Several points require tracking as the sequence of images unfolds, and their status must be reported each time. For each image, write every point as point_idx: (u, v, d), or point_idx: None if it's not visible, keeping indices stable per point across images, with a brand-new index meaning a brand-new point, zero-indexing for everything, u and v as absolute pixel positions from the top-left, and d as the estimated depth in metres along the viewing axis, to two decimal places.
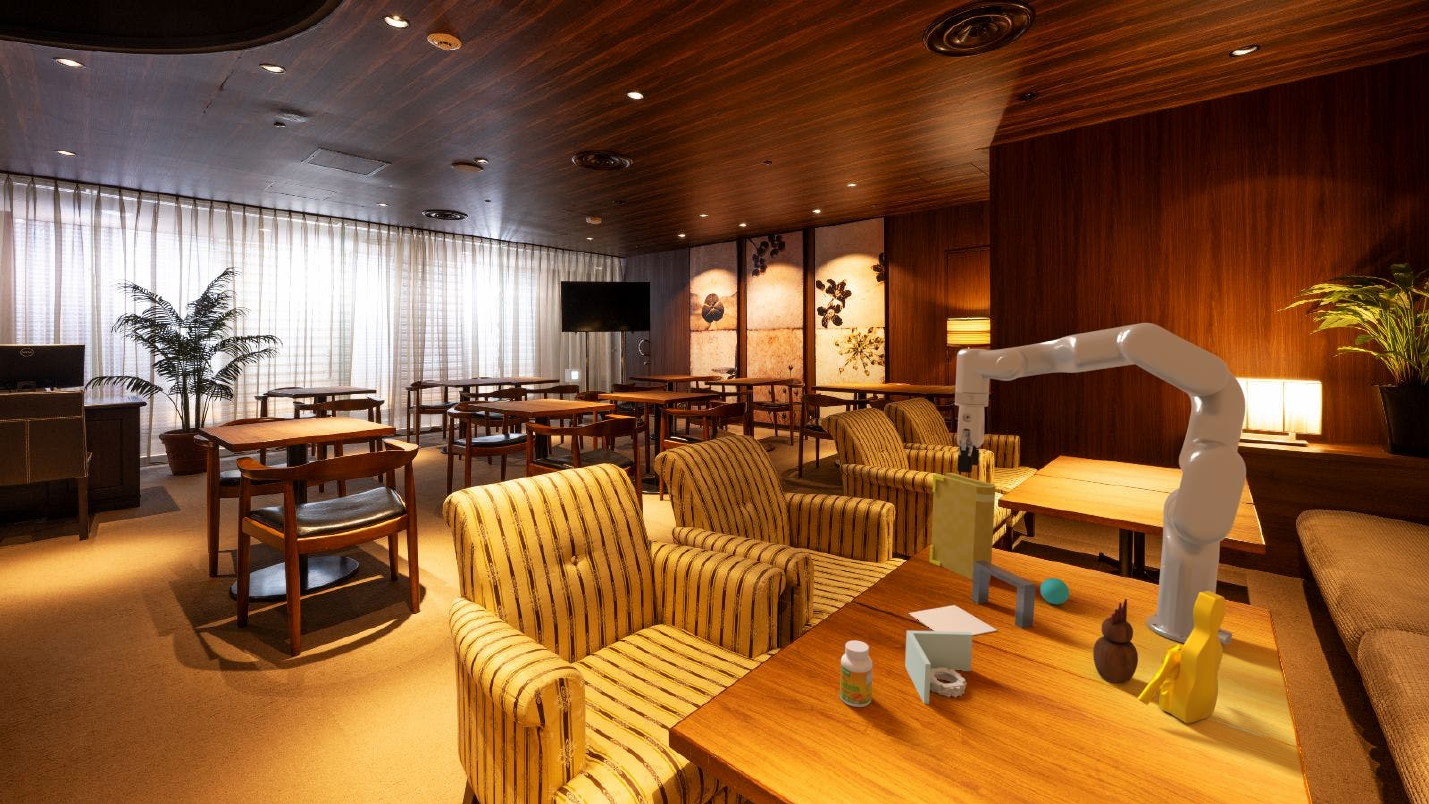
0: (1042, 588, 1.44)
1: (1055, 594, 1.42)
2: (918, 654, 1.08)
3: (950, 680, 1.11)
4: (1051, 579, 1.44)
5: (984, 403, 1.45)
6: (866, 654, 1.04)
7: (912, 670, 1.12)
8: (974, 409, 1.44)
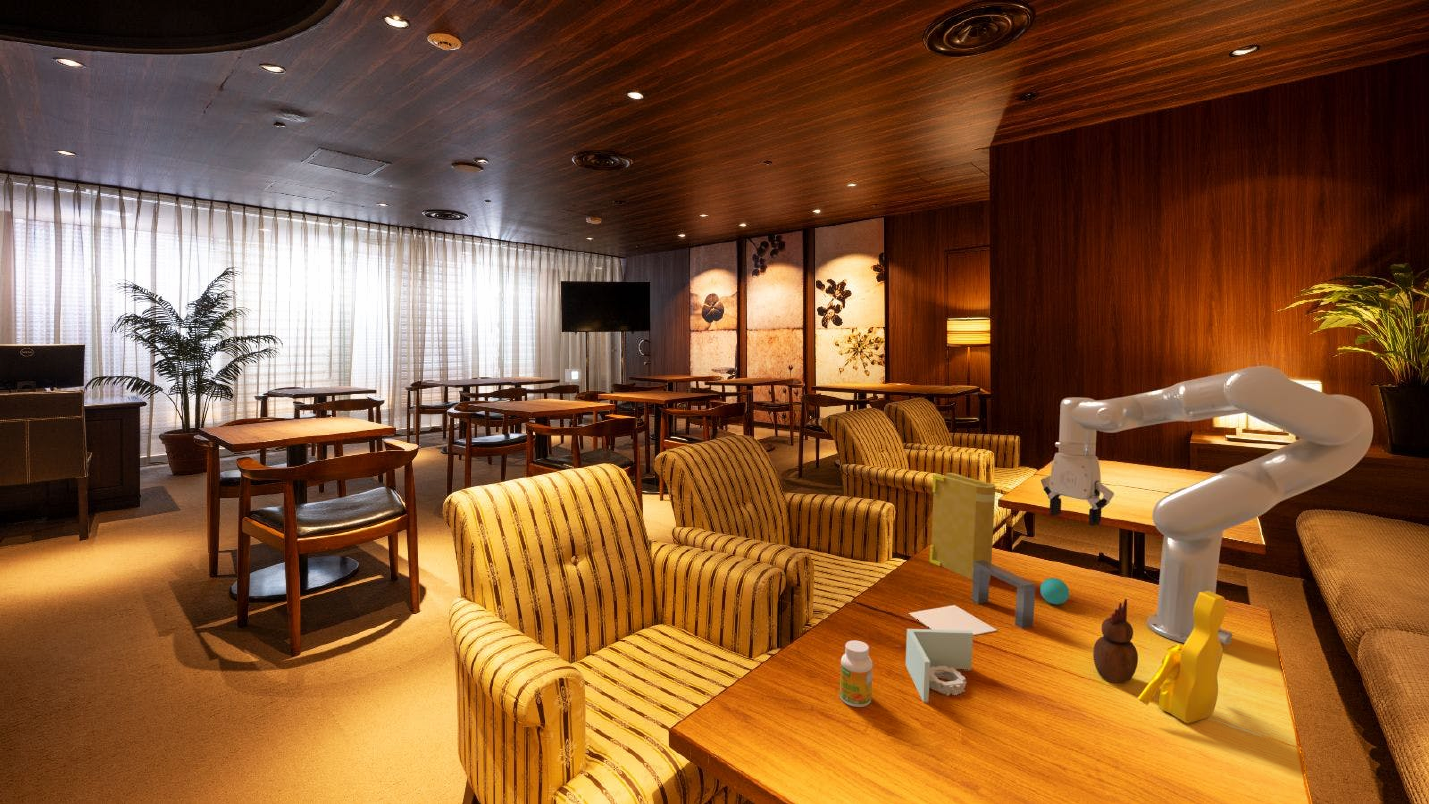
0: (1042, 588, 1.44)
1: (1055, 594, 1.42)
2: (918, 652, 1.08)
3: (950, 678, 1.12)
4: (1051, 579, 1.44)
5: (1060, 452, 1.45)
6: (866, 654, 1.04)
7: (912, 668, 1.12)
8: None
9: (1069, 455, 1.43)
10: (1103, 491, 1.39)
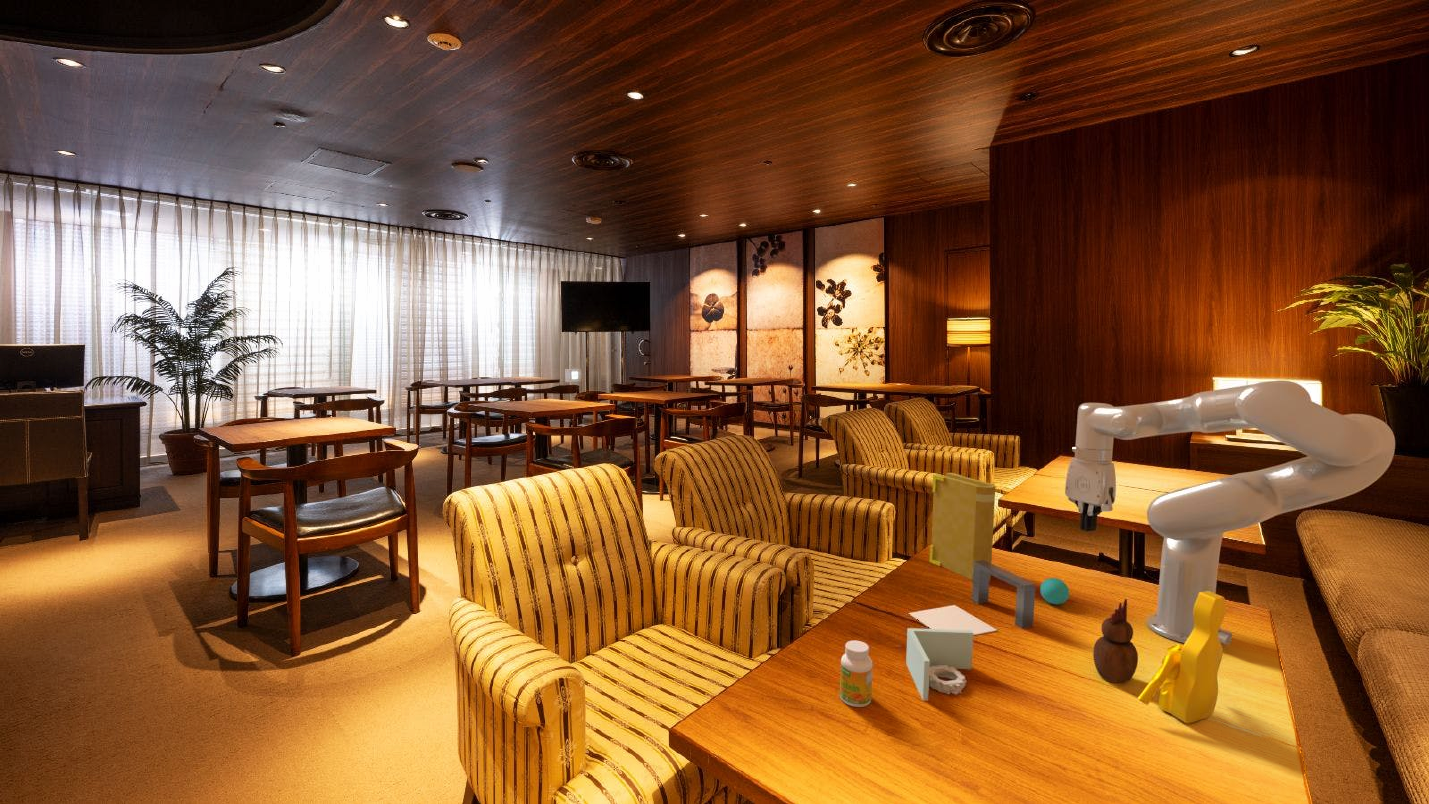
0: (1042, 588, 1.44)
1: (1055, 594, 1.42)
2: (918, 651, 1.09)
3: (950, 678, 1.12)
4: (1051, 579, 1.44)
5: (1076, 457, 1.45)
6: (866, 654, 1.04)
7: (912, 667, 1.13)
8: None
9: (1084, 460, 1.42)
10: (1105, 503, 1.41)
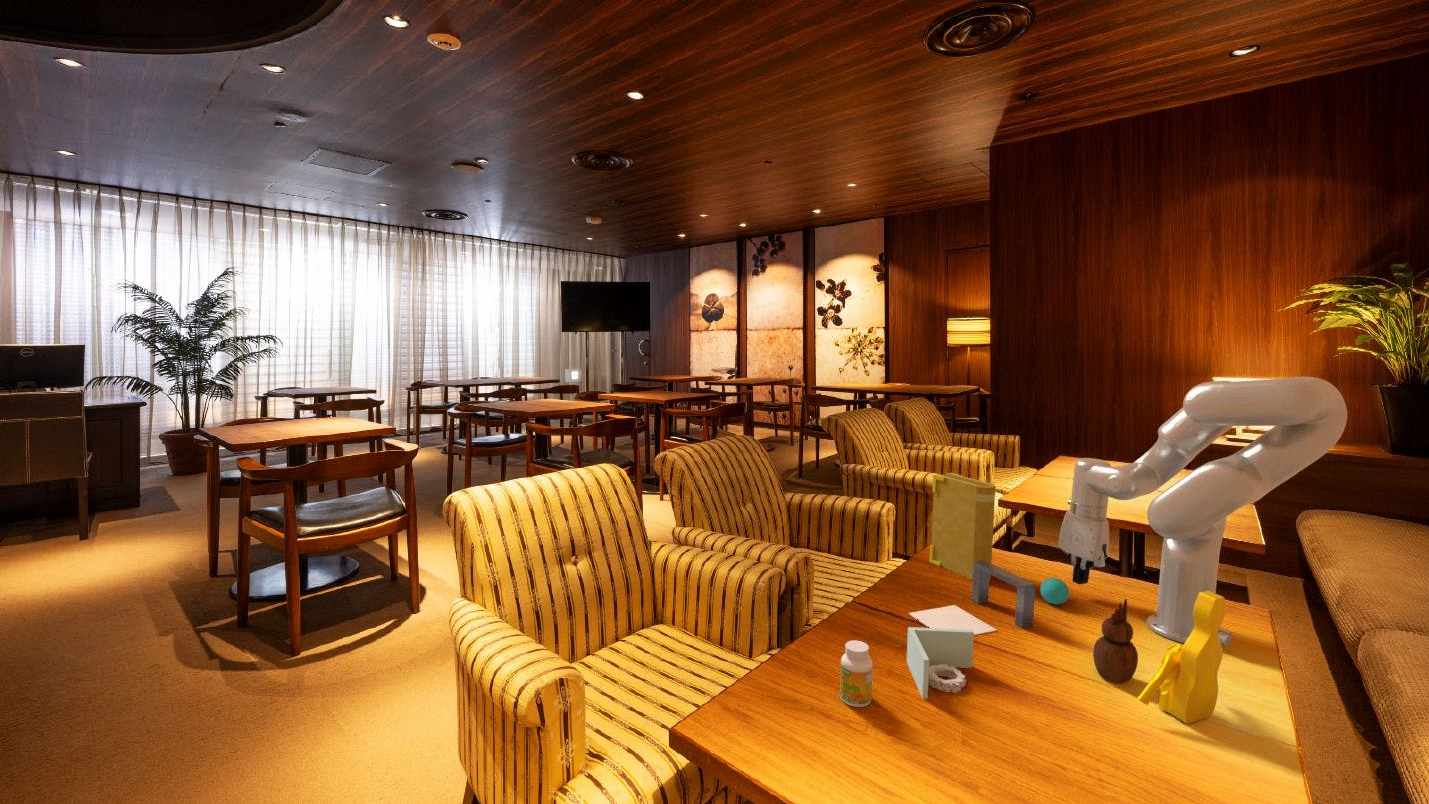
0: (1042, 588, 1.44)
1: (1055, 594, 1.42)
2: (918, 650, 1.10)
3: (950, 677, 1.12)
4: (1051, 579, 1.44)
5: (1071, 511, 1.46)
6: (866, 654, 1.04)
7: (912, 666, 1.13)
8: None
9: (1078, 516, 1.44)
10: (1098, 559, 1.43)
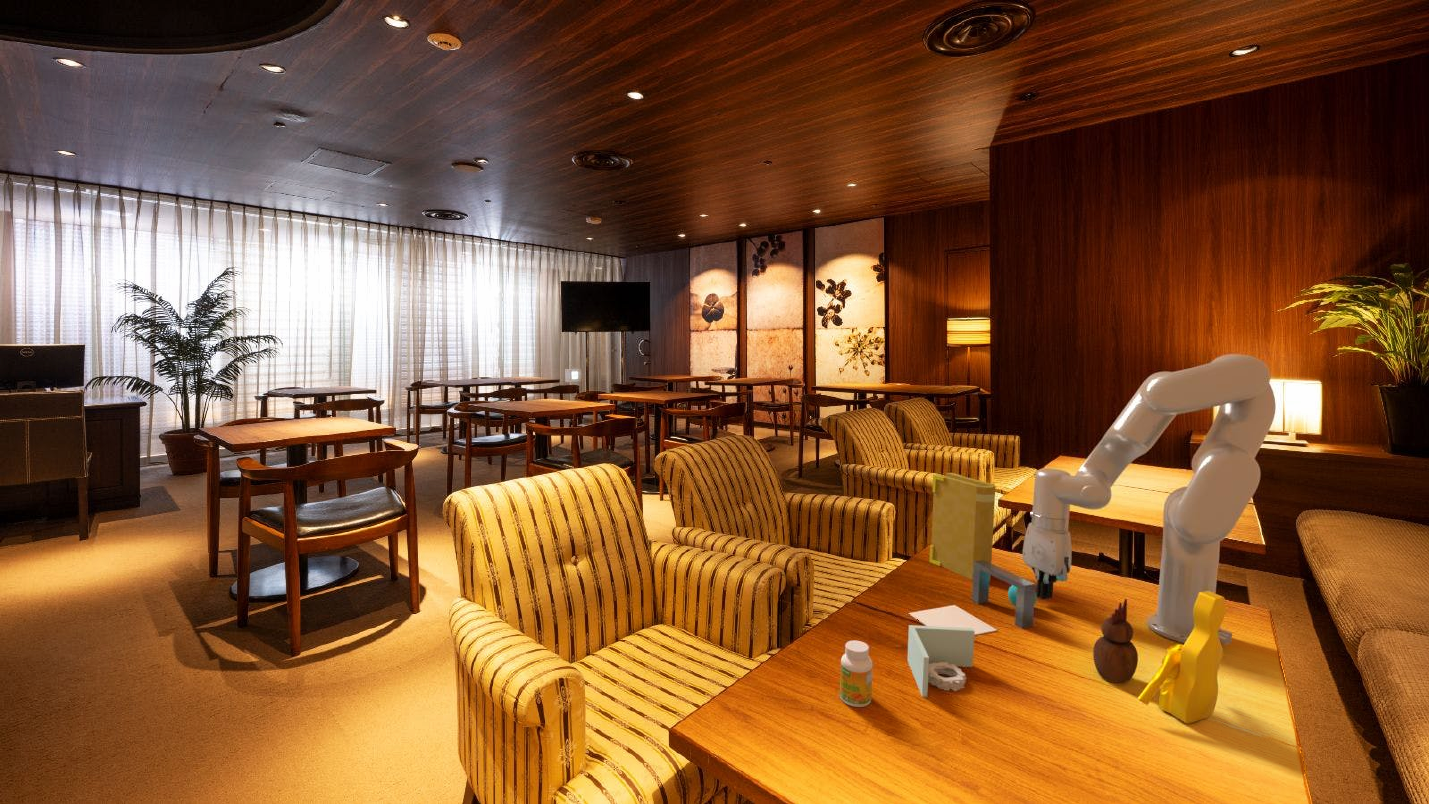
0: None
1: (1035, 601, 1.40)
2: (918, 648, 1.10)
3: (951, 675, 1.13)
4: None
5: (1032, 523, 1.43)
6: (866, 654, 1.04)
7: (913, 664, 1.14)
8: None
9: (1039, 528, 1.40)
10: (1060, 573, 1.39)
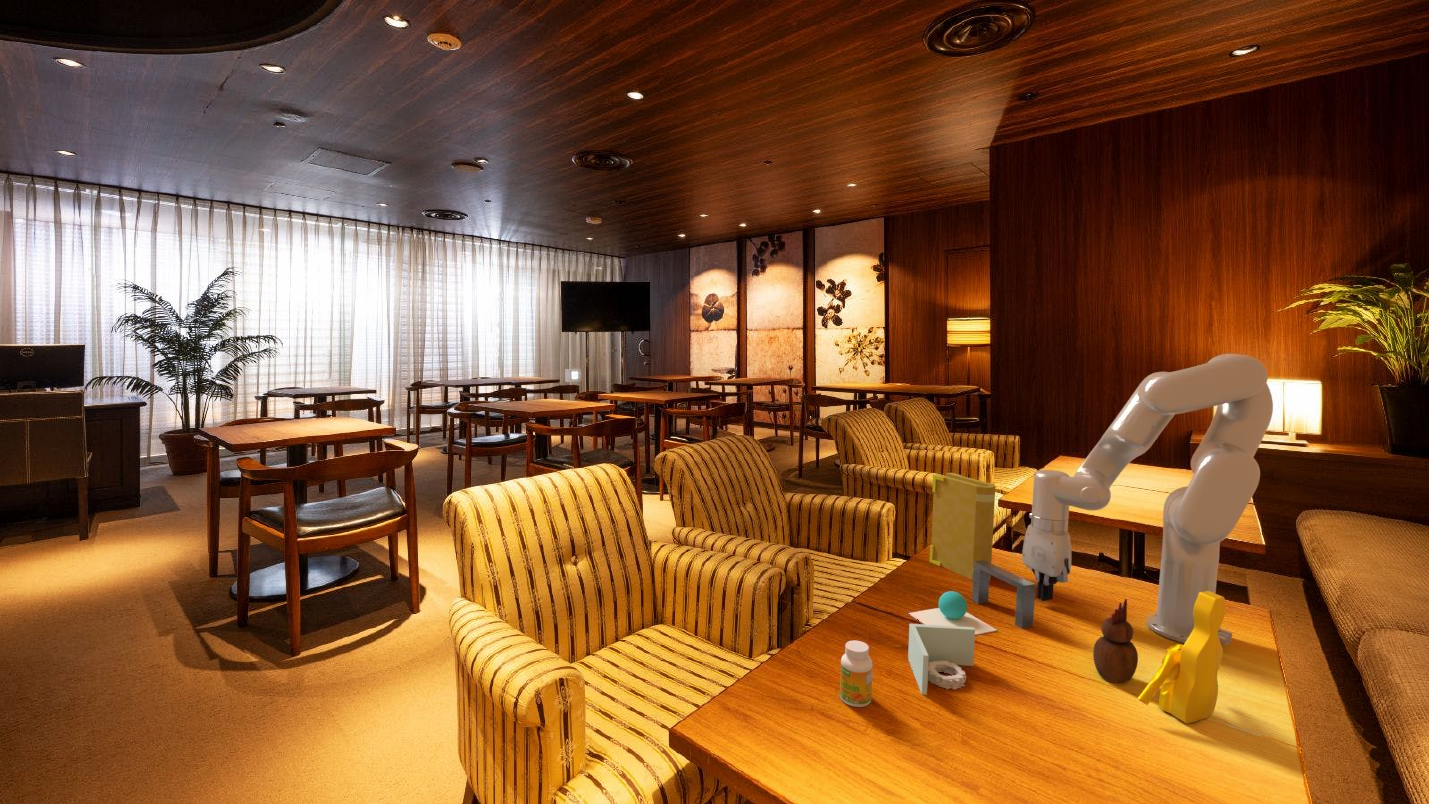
0: None
1: None
2: (918, 646, 1.11)
3: (951, 673, 1.13)
4: None
5: (1032, 525, 1.42)
6: (866, 654, 1.04)
7: (913, 662, 1.14)
8: None
9: (1039, 530, 1.40)
10: (1060, 574, 1.38)
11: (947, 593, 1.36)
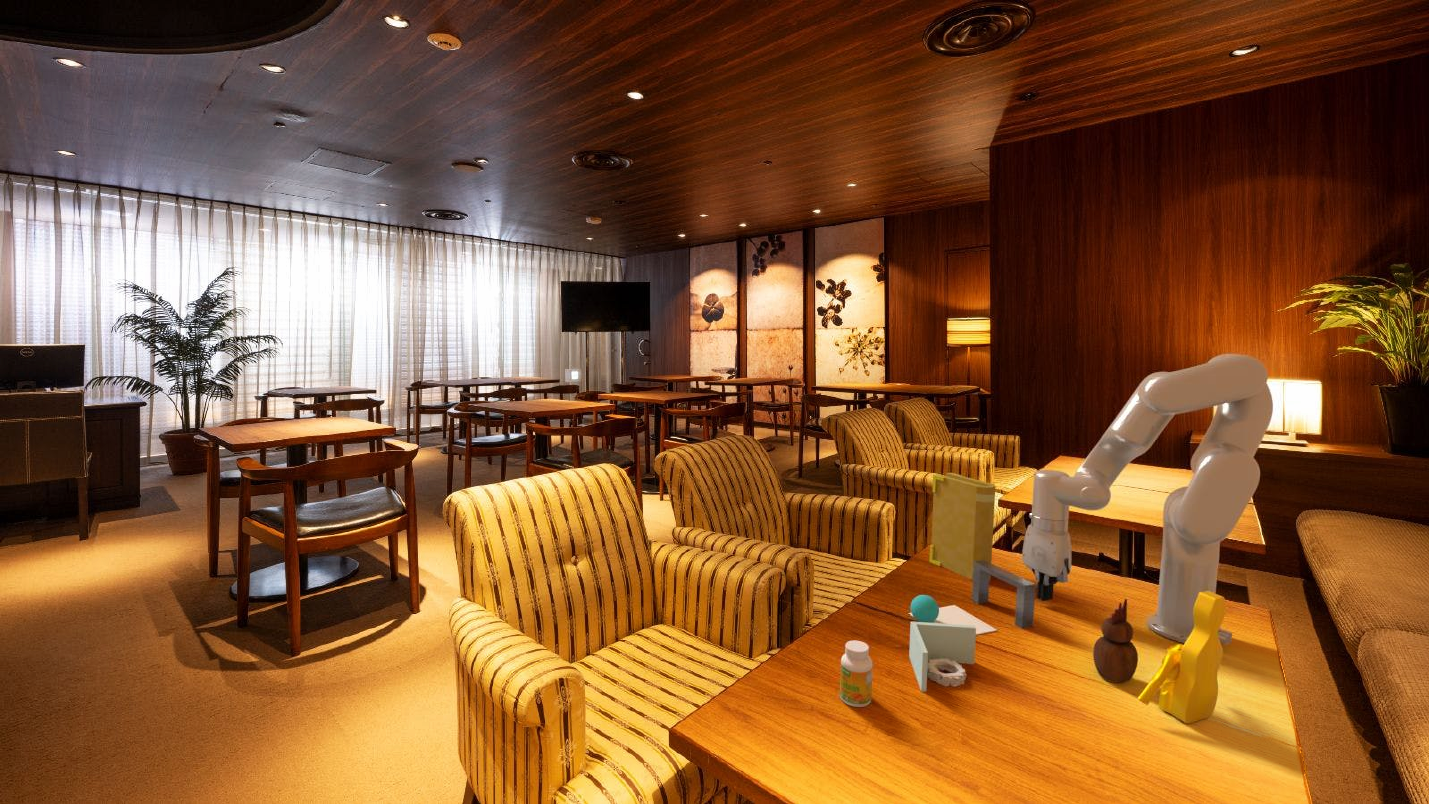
0: (917, 597, 1.35)
1: (926, 606, 1.32)
2: (918, 643, 1.12)
3: (951, 671, 1.14)
4: (931, 597, 1.35)
5: (1032, 525, 1.42)
6: (866, 654, 1.04)
7: (914, 659, 1.15)
8: None
9: (1039, 530, 1.40)
10: (1060, 574, 1.38)
11: None
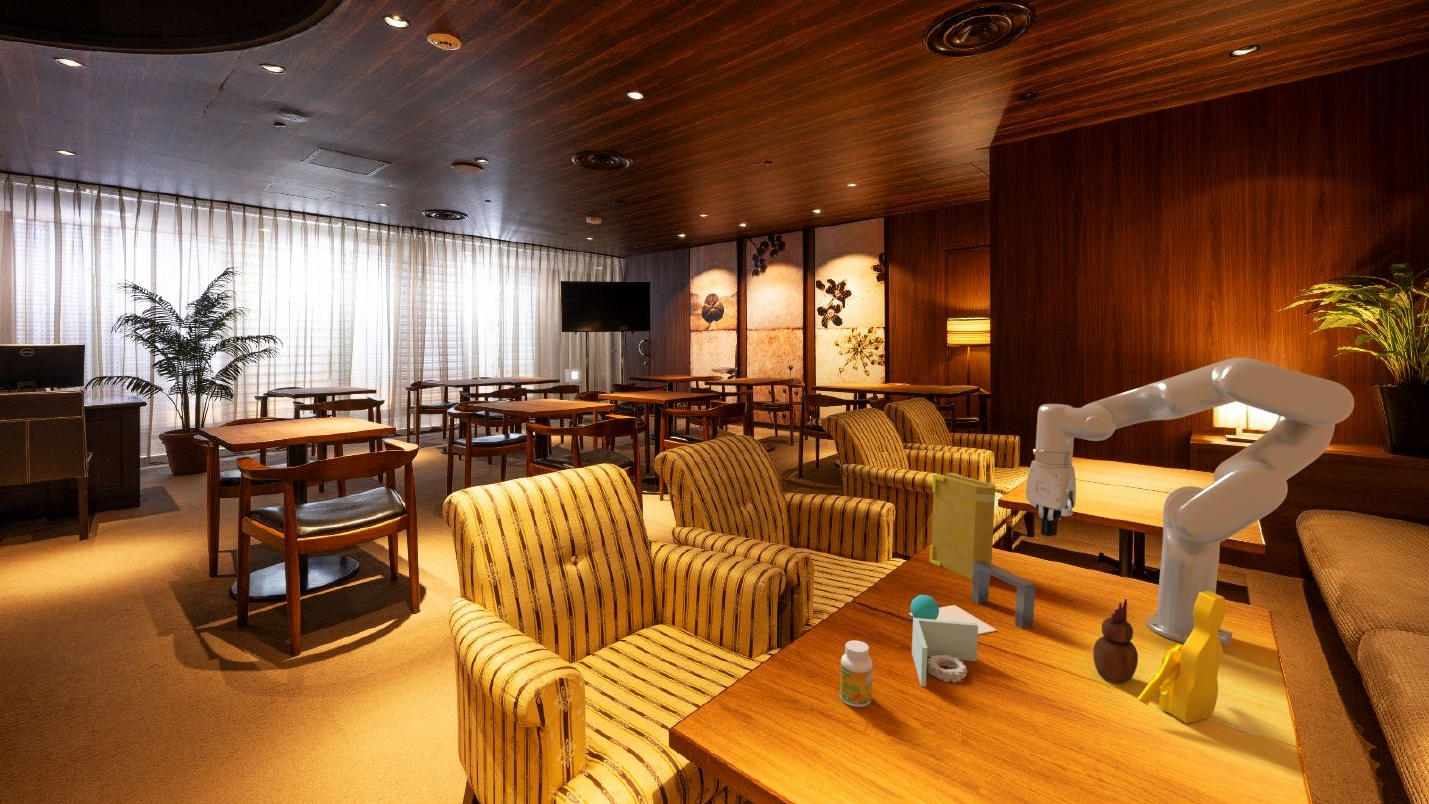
0: (917, 597, 1.35)
1: (926, 606, 1.32)
2: (918, 639, 1.13)
3: (952, 667, 1.15)
4: (931, 597, 1.35)
5: (1036, 459, 1.41)
6: (866, 654, 1.04)
7: (915, 655, 1.17)
8: None
9: (1043, 463, 1.38)
10: (1065, 508, 1.37)
11: None
